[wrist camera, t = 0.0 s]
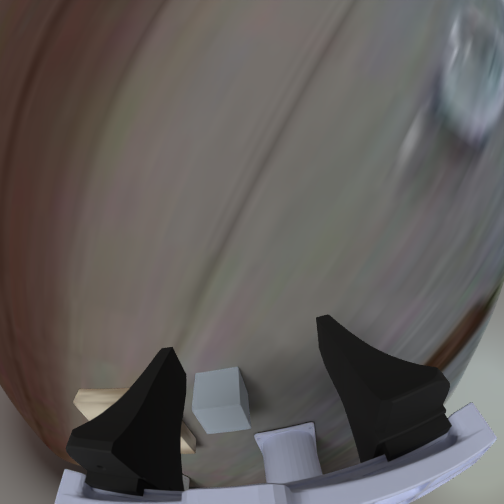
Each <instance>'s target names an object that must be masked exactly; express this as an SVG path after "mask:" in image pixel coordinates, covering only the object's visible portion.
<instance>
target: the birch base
mask: <svg viewBox="0 0 504 504" xmlns="http://www.w3.org/2000/svg"><path fill="white" fill-rule="evenodd" d="M129 389H130V388H117V389H79V391H78V393H77V395H76V397H75V399H74V401H73V403H74V404H75V405H76V407H77V408H78V409H79V410H80V411H81V412H82V414H83V415H84V416H85V417H86V418H87V419H88V420H89V421H90V420H92V419H94V418H95V417H97V416H98V415H100V414H101V413H103V412H104V411H105V410H106V409H108V408H109V407H110V406H111V405H113V404H114V403H115V402H116V401H117V400H118V399H120V398H121V397H122V396H123V395H124V394H125V393H126V392H127V391H128V390H129ZM195 451H196V438H195V437H194V436H193V434H192V433H191V432H190V430H189V429H188V427H187V426H186V425H185V423H184V422H183V421H182V425H181V454H195Z"/></svg>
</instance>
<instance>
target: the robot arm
mask: <svg viewBox="0 0 504 504" xmlns="http://www.w3.org/2000/svg"><path fill="white" fill-rule="evenodd" d="M316 322H317V331H318V341H319V349H320V352H321V355H322V358H323V361H324V364H325V367H326V369H327V371H328V373H329V375H330V377H331V379H332V381H333V383H334V385H335V387H336V389H337V391H338V394H339V396H340V398H341V400H342V402H343V405H344V408H345V411H346V414H347V417H348V420H349V423H350V426H351V429H352V433H353V436H354V439H355V443H356V446H357V450H358V454H359V458H360V462H361V463H360V464H357V465H354V466H351V467H348V468H344V469H341V470H338V471H334V472H331V473H327V474H322V470H321V466H320V463H319V459H318V455H317V447H316V437H315V428H314V423H313V422H309V423H305V424H301V425H297V426H292V427H288V428H283V429H278V430H273V431H268V432H262V433H257V434H255V435H254V437H255V440H256V442H257V444H258V446H259V448H260V450H261V452H262V454H263V458H264V466H265V474H266V482H267V483H261V484H251V485H242V486H230V487H214V488H195V489H188V490H186V491H184V484H183V476H182V465H181V425H182V418H183V411H184V404H185V397H186V373H185V371H184V369H183V367H182V365H181V363H180V361H179V359H178V357H177V355H176V353H175V351H174V349H173V347H168V348H162V349H161V350H160V351H159V352H158V353H157V355H156V356H155V357H154V359H153V360H152V361H151V363H150V364H149V365H148V367H147V368H146V369H145V371H144V372H143V373H142V374H141V376H140V377H139V378H138V379H137V380H136V382H135V383H134V384H133V385H132V386H131V387H130V389H129V390H128V391H127V392H126V393H125V394H124V395H123V396H122V397H121V398H120V399H118V400H117V401H116V402H115V403H114V404H113V405H111V406H110V407H109V408H108V409H106V410H105V411H104V412H103V413H101V414H100V415H98V416H97V417H95V418H94V419H92V420H90V421H89V422H87V423H85V424H83V425H81V426H79V427H77V428H75V429H73V430H72V433H71V435H70V438H69V441H68V443H67V446H66V451H67V453H68V454H69V456H70V457H72V458H73V459H74V460H75V461H76V462H77V463H79V464H80V465H81V466H82V467H84V468H85V469H86V470H87V471H88V472H87V475H85V474H83V473H80V472H76V471H72V470H67V469H65V470H64V473H63V477H62V480H61V483H60V486H59V490H58V493H57V497H56V501H55V504H409V503H411V502H413V501H415V500H417V499H418V498H420V497H422V496H424V495H426V494H428V493H429V492H431V491H433V490H434V489H436V488H438V487H439V486H441V485H443V484H444V483H446V482H448V481H449V480H451V479H452V478H454V477H455V476H457V475H459V474H460V473H461V472H463V471H464V470H466V469H468V468H469V467H470V466H472V465H473V464H475V463H476V462H477V460H479V459H480V457H481V456H482V455H483V454H484V453H485V452H486V451H487V450H488V449H489V448H490V447H491V445H492V444H493V443H494V442H495V441H496V439H497V437H496V435H495V434H494V432H493V431H492V429H491V428H490V427H489V425H488V424H487V422H486V421H485V420H484V418H483V416H482V415H481V414H480V412H479V411H478V410H477V408H476V407H475V405H474V404H473V402H470V403H469V404H467V405H466V406H464V407H463V408H461V409H459V410H458V411H456V412H454V413H453V414H452V415H451V416H450V417H449V418H447V417H446V415H445V413H446V409H445V407H444V406H443V403H444V401H445V399H446V396H447V394H448V391H449V388H450V383H449V381H448V380H447V379H446V377H445V376H444V375H443V373H442V372H441V371H440V370H439V369H438V368H436V367H430V366H424V365H419V364H415V363H411V362H407V361H404V360H401V359H398V358H396V357H393V356H390V355H388V354H386V353H383V352H381V351H379V350H377V349H375V348H374V347H372V346H370V345H368V344H367V343H365V342H364V341H362V340H361V339H359V338H358V337H356V336H355V335H353V334H352V333H351V332H349V331H348V330H347V329H345V328H344V327H343V326H342V325H340V324H339V323H338V322H337V321H336V320H335V319H333V318H332V317H331V316H330V315H324V316H320V317H316Z"/></svg>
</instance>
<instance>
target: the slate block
mask: <svg viewBox="0 0 504 504" xmlns="http://www.w3.org/2000/svg"><path fill="white" fill-rule="evenodd" d="M192 411H193V413H194V414H195V416H196V417H197V419H198V420H199V422H200V423H201V425H202V426H203V428H204V429H205V431H206V432H207V434H212V433H221V432H230V431H237V430H244V429H251V421H250V410H249V399H248V392H247V389H246V387H245V384H244V381H243V379H242V376H241V373H240V370H239V368H238V367H233V368H227V369H221V370H215V371H209V372H202V373H196V375H195V384H194V393H193V403H192Z"/></svg>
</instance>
